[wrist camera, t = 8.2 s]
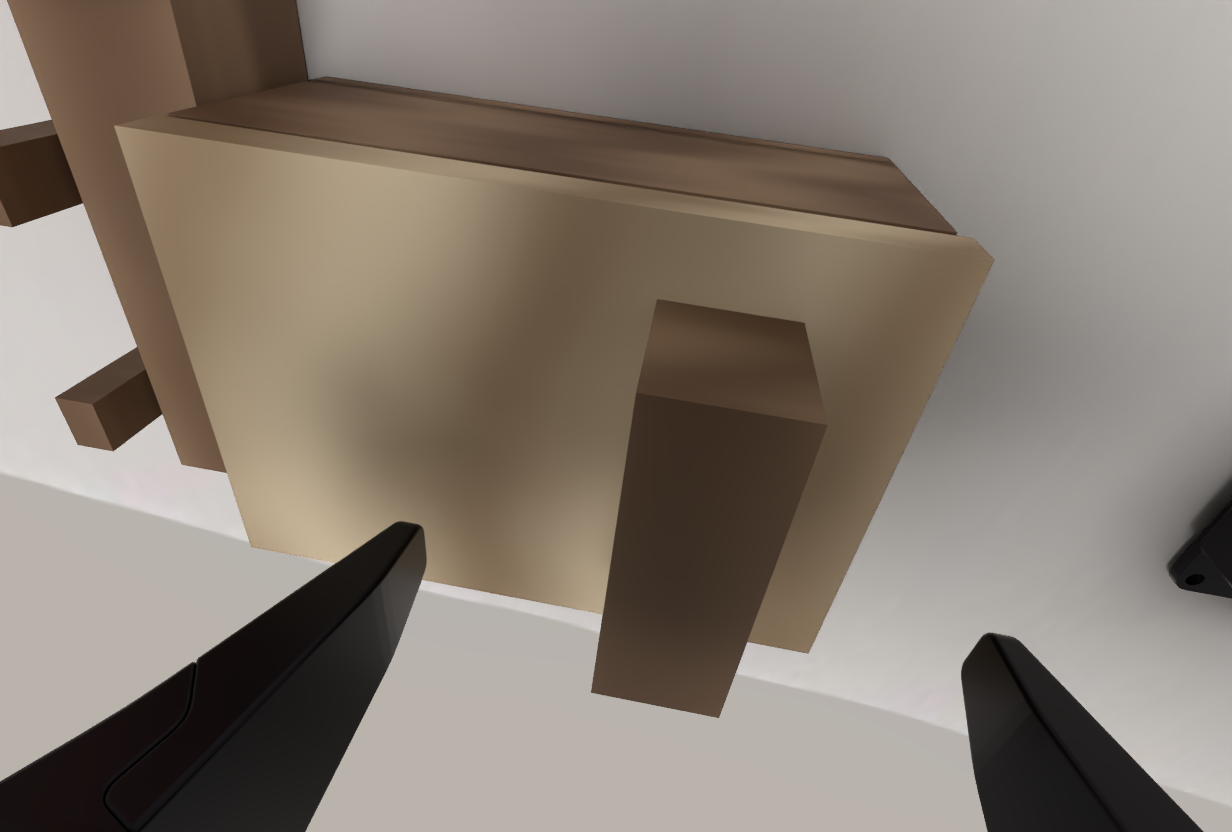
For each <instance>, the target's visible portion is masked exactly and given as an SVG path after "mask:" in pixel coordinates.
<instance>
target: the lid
mask: <svg viewBox="0 0 1232 832" xmlns="http://www.w3.org/2000/svg"><path fill="white" fill-rule="evenodd" d="M114 127H115V130H116V133H117V136H118V139H119V142H120V145H121V149H122V152H123V155H124V158H125V161H126V164H127V167H128V170H129V173H130V176H131V179H132V182H133V185H134V188H135V192H136V195H137V198H138V201H139V204H140V207H141V210H142V213H143V216H144V219H145V222H146V225H147V228H148V231H149V235H150V238H151V241H152V244H153V247H154V250H155V253H156V256H157V259H158V262H159V265H160V268H161V271H162V275H163V278H164V281H165V284H166V287H167V290H168V293H169V296H170V299H171V302H172V305H173V308H174V311H175V314H176V318H177V321H178V324H179V327H180V330H181V333H182V336H183V339H184V342H185V345H186V348H187V351H188V354H189V357H190V361H191V364H192V367H193V370H194V373H195V376H196V379H197V382H198V385H199V388H200V391H201V394H202V397H203V400H204V404H205V407H206V410H207V413H208V416H209V419H210V422H211V425H212V428H213V431H214V434H215V437H216V440H217V443H218V447H219V450H220V453H221V456H222V459H223V462H224V465H225V468H226V471H227V474H228V477H229V480H230V483H231V486H232V490H233V493H234V496H235V499H236V502H237V505H238V508H239V511H240V514H241V517H242V520H243V523H244V526H245V530H246V533H247V536H248V539H249V542H250V545H251V547H254V548H259V549H264V550H270V551H275V552H280V553H285V554H290V555H296V556H301V557H306V558H311V559H316V560H322V561H327V562H332V563H337V562H338V561H340V560H341V559H343V558H344V557H345V556H347V555H348V554H350V553H351V552H353V551H354V550H356V549H357V548H359V547H360V546H361V545H363V544H364V543H366V542H367V541H369V540H370V539H372V538H373V537H374V536H376V535H377V534H379V533H380V532H382V531H383V530H385V529H386V528H388V527H389V526H390V525H392V524H393V523H395V522H398V521H404V522H409V523H415V524H419V525H421V526H422V527H423V529H424V534H425V545H426V555H427V564H426V569H425V573H424V575H423V578H422V580H426V581H431V582H437V583H442V584H447V585H452V586H458V587H463V588H468V589H473V590H479V591H484V592H489V593H494V594H499V595H505V596H510V597H515V598H520V599H526V600H531V601H536V602H541V603H546V604H552V605H557V606H562V607H567V608H573V609H578V610H583V611H588V612H594V613H599V614H603V616H602V623H601V630H600V637H599V643H598V650H597V657H596V663H595V670H594V677H593V683H592V690H591V692H592V693H596V694H601V695H606V696H611V697H616V698H621V699H626V700H631V701H636V702H641V703H647V704H651V705H656V706H661V707H666V708H671V709H677V710H682V711H687V712H692V713H697V714H702V715H707V716H712V717H717V718H719V716H720V714H721V711H722V708H723V706H724V703H725V700H726V697H727V695H728V692H729V689H730V686H731V684H732V681H733V678H734V676H735V673H736V671H737V668H738V665H739V663H740V660H741V657H742V655H743V652H744V649H745V646H746V644H747V642H750V643H756V644H761V645H766V646H771V647H777V648H782V649H787V650H792V651H797V652H803V653H809V651H810V649H811V647H812V645H813V643H814V641H815V638H816V636H817V634H818V632H819V630H820V628H821V626H822V624H823V621H824V619H825V617H826V615H827V613H828V611H829V609H830V607H831V605H832V602H833V600H834V598H835V596H836V594H837V592H838V590H839V588H840V586H841V583H842V581H843V579H844V577H845V575H846V573H847V571H848V569H849V566H850V564H851V562H852V560H853V558H854V556H855V554H856V552H857V550H858V547H859V545H860V543H861V541H862V539H863V537H864V535H865V533H866V530H867V528H868V526H869V524H870V522H871V520H872V518H873V516H874V514H875V511H876V509H877V507H878V505H879V503H880V501H881V499H882V497H883V495H884V492H885V490H886V488H887V486H888V484H889V482H890V480H891V478H892V475H893V473H894V471H895V469H896V467H897V465H898V463H899V461H900V459H901V456H902V454H903V452H904V450H905V448H906V446H907V444H908V442H909V439H910V437H911V435H912V433H913V431H914V429H915V427H916V425H917V423H918V420H919V418H920V416H921V414H922V412H923V410H924V408H925V406H926V404H927V401H928V399H929V397H930V395H931V393H932V391H933V389H934V387H935V384H936V382H937V380H938V378H939V376H940V374H941V372H942V370H943V368H944V365H945V363H946V361H947V359H948V357H949V355H950V353H951V351H952V348H953V346H954V344H955V342H956V340H957V338H958V336H959V334H960V332H961V329H962V327H963V325H964V323H965V321H966V319H967V317H968V315H969V313H970V310H971V308H972V306H973V304H974V302H975V300H976V298H977V296H978V293H979V291H980V289H981V287H982V285H983V283H984V281H985V279H986V277H987V274H988V272H989V270H990V268H991V266H992V264H993V262H994V259H993V258H992V257H991V256H990V255H989V254H988V253H987V252H986V251H985V250H984V249H983V248H982V247H981V246H980V245H979V244H978V243H977V242H976V241H975V239H974V238H968V237H962V236H955V235H949V234H942V233H935V232H929V231H922V230H915V229H909V228H902V227H896V226H889V225H882V224H876V223H869V222H862V221H856V220H849V219H843V218H836V217H829V216H823V215H816V214H810V213H803V212H796V211H790V210H783V209H776V208H770V207H763V206H757V205H750V204H743V203H737V202H730V201H724V200H717V199H710V198H704V197H697V196H690V195H684V194H677V193H671V192H664V191H657V190H651V189H644V188H638V187H631V186H624V185H618V184H611V183H604V182H598V181H591V180H585V179H578V178H571V177H565V176H558V175H552V174H545V173H538V172H532V171H525V170H518V169H512V168H505V167H499V166H492V165H485V164H479V163H472V162H465V161H459V160H452V159H446V158H439V157H432V156H426V155H419V154H413V153H406V152H399V151H393V150H386V149H379V148H373V147H366V146H360V145H353V144H346V143H340V142H333V141H327V140H320V139H313V138H307V137H300V136H293V135H287V134H280V133H274V132H267V131H260V130H254V129H247V128H241V127H234V126H227V125H221V124H214V123H207V122H201V121H194V120H188V119H181V118H174V117H168V116H161V115H157V116H153V117H149V118H144V119H140V120H136V121H131V122H127V123H123V124H118V125H114Z"/></svg>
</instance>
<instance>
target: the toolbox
mask: <svg viewBox="0 0 1232 832" xmlns="http://www.w3.org/2000/svg"><path fill="white" fill-rule="evenodd" d="M7 2H8V4H9V7H10V9H11V12H12V15H13V17H14V20H15V23H16V25H17V28H18V31H19V33H20V36H21V39H22V41H23V44H24V47H25V49H26V52H27V55H28V57H29V60H30V63H31V65H32V68H33V71H34V73H35V76H36V79H37V81H38V84H39V87H40V89H41V92H42V95H43V97H44V100H45V103H46V105H47V108H48V111H49V113H50V116H51V118H52V120H48V121H43V122H39V123H34V124H29V125H24V126H19V127H14V128H9V129H4V130H0V225H2V226H8V227H14V226H17V225H20V224H23V223H26V222H29V221H32V220H35V219H38V218H41V217H44V216H47V215H50V214H53V213H56V212H59V211H61V210H64V209H67V208H70V207H73V206H76V205H79V204H82V203H83V204H84V206H85V209H86V212H87V214H88V217H89V220H90V222H91V225H92V228H93V230H94V233H95V235H96V238H97V241H98V243H99V246H100V249H101V251H102V254H103V257H104V259H105V262H106V265H107V267H108V270H109V273H110V275H111V278H112V281H113V283H114V286H115V289H116V291H117V294H118V297H119V299H120V302H121V305H122V307H123V310H124V313H125V315H126V318H127V321H128V323H129V326H130V329H131V331H132V334H133V337H134V339H135V342H136V344H137V347H136V348H135V349H133V350H132V351H130V352H128V353H127V354H125V355H123V356H122V357H120V358H119V359H117V360H115V361H114V362H112V363H110V364H109V365H107V366H106V367H104V368H102V369H101V370H99V371H97V372H96V373H94V374H93V375H91V376H89V377H88V378H86V379H84V380H83V381H81V382H80V383H78V384H76V385H75V386H73V387H71V388H70V389H68V390H67V391H65V392H63V393H62V394H60V395H58V396H57V397H55V399H56V401H57V403H58V405H59V407H60V409H61V411H62V413H63V415H64V417H65V419H66V421H67V424H68V426H69V428H70V430H71V432H72V434H73V436H74V438H75V440H76V442H77V444H78V445H82V446H88V447H93V448H98V449H104V450H109V451H114V450H116V449H117V448H118V447H120V446H121V445H122V444H124V443H125V442H126V441H127V440H129V439H130V438H131V437H133V436H134V435H135V434H137V433H138V432H139V431H141V430H142V429H143V428H145V427H146V426H147V425H148V424H150V423H151V422H152V421H154V420H155V419H156V418H158V417H159V416H160V415H162V414H163V416H164V419H165V422H166V424H167V427H168V430H169V432H170V435H171V438H172V440H173V443H174V446H175V448H176V451H177V454H178V456H179V459H180V461H181V464H182V465H187V466H192V467H198V468H203V469H208V470H214V471H219V472H225V473H227V471H226V468H225V465H224V462H223V459H222V456H221V453H220V450H219V447H218V443H217V440H216V437H215V434H214V431H213V428H212V425H211V422H210V419H209V416H208V413H207V410H206V407H205V404H204V400H203V397H202V394H201V391H200V388H199V385H198V382H197V379H196V376H195V373H194V370H193V367H192V364H191V361H190V357H189V354H188V351H187V348H186V345H185V342H184V339H183V336H182V333H181V330H180V327H179V324H178V321H177V318H176V314H175V311H174V308H173V305H172V302H171V299H170V296H169V293H168V290H167V287H166V284H165V281H164V278H163V275H162V271H161V268H160V265H159V262H158V259H157V256H156V253H155V250H154V247H153V244H152V241H151V238H150V235H149V231H148V228H147V225H146V222H145V219H144V216H143V213H142V210H141V207H140V204H139V201H138V198H137V195H136V192H135V188H134V185H133V182H132V179H131V176H130V173H129V170H128V167H127V164H126V161H125V158H124V155H123V152H122V149H121V145H120V142H119V139H118V136H117V133H116V130H115V127H114V125H118V124H123V123H127V122H131V121H136V120H140V119H144V118H149V117H153V116H157V115H161V116H168V117H174V118H181V119H188V120H194V121H201V122H207V123H214V124H221V125H227V126H234V127H241V128H247V129H254V130H260V131H267V132H274V133H280V134H287V135H293V136H300V137H307V138H313V139H320V140H327V141H333V142H340V143H346V144H353V145H360V146H366V147H373V148H379V149H386V150H393V151H399V152H406V153H413V154H419V155H426V156H432V157H439V158H446V159H452V160H459V161H465V162H472V163H479V164H485V165H492V166H499V167H505V168H512V169H518V170H525V171H532V172H538V173H545V174H552V175H558V176H565V177H571V178H578V179H585V180H591V181H598V182H604V183H611V184H618V185H624V186H631V187H638V188H644V189H651V190H657V191H664V192H671V193H677V194H684V195H690V196H697V197H704V198H710V199H717V200H724V201H730V202H737V203H743V204H750V205H757V206H763V207H770V208H776V209H783V210H790V211H796V212H803V213H810V214H816V215H823V216H829V217H836V218H843V219H849V220H856V221H862V222H869V223H876V224H882V225H889V226H896V227H902V228H909V229H915V230H922V231H929V232H935V233H942V234H949V235H955V236H956V234H957V232H956V230H955V229H954V228H953V227H952V226H951V225H950V224H949V223H948V222H947V221H946V220H945V219H944V217H943V216H942V215H941V214H940V213H939V212H938V211H937V210H936V209H935V208H934V207H933V206H932V204H931V203H930V202H929V201H928V200H927V199H926V198H925V197H924V196H923V195H922V194H921V193H920V191H919V190H918V189H917V188H916V187H915V186H914V185H913V184H912V183H911V182H910V181H909V180H908V178H907V177H906V176H905V175H904V174H903V173H902V172H901V171H900V170H899V169H898V168H897V167H896V165H895V164H894V163H893V162H892V161H891V160H890V159H889V158H884V157H877V156H871V155H864V154H857V153H850V152H843V151H836V150H829V149H822V148H815V147H808V146H802V145H795V144H788V143H781V142H774V141H767V140H760V139H753V138H746V137H740V136H733V135H726V134H719V133H712V132H705V131H698V130H691V129H684V128H677V127H671V126H664V125H657V124H650V123H643V122H636V121H629V120H622V119H615V118H609V117H602V116H595V115H588V114H581V113H574V112H567V111H560V110H553V109H546V108H540V107H533V106H526V105H519V104H512V103H505V102H498V101H491V100H484V99H478V98H471V97H464V96H457V95H450V94H443V93H436V92H429V91H422V90H415V89H409V88H402V87H395V86H388V85H381V84H374V83H367V82H360V81H353V80H347V79H340V78H333V77H322V78H317V79H313V80H309V81H308V78H307V72H306V65H305V59H304V52H303V46H302V40H301V33H300V27H299V20H298V14H297V7H296V1H295V0H7Z"/></svg>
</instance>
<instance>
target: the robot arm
mask: <svg viewBox="0 0 1232 832" xmlns="http://www.w3.org/2000/svg"><path fill="white" fill-rule="evenodd" d="M426 564H427V555H426V545H425V534H424V529H423V527H422V526H421V525H419V524H415V523H409V522H404V521H398V522H395V523H393V524H392V525H390V526H389V527H388V528H386V529H385V530H383V531H382V532H380V533H379V534H377V535H376V536H374V537H373V538H372V539H370V540H369V541H367V542H366V543H364V544H363V545H361V546H360V547H359V548H357V549H356V550H354V551H353V552H351V553H350V554H348V555H347V556H345V557H344V558H343V559H341V560H340V561H338V562H337V563H335V564H334V565H332V566H331V567H330V568H328V569H327V570H325V571H324V572H322V573H321V574H319V575H318V576H316V577H315V578H314V579H312V580H311V581H309V582H308V583H306V584H305V585H303V586H302V587H301V588H299V589H298V590H296V591H295V592H294V593H292V594H290V595H289V596H287V597H286V598H285V599H283V600H282V601H280V602H279V603H277V604H276V605H274V606H273V607H272V608H270V609H269V610H267V611H266V612H264V613H263V614H261V615H260V616H258V617H257V618H256V619H254V620H253V621H252V622H250V623H248V624H247V625H245V626H244V627H243V628H241V629H240V630H238V631H237V632H235V633H234V634H232V635H231V636H230V637H228V638H227V639H225V640H224V641H222V642H221V643H219V644H218V645H216V646H215V647H214V648H212V649H211V650H209V651H208V652H206V653H205V654H203V655H202V656H201V657H199V658H198V659H197V662H196V663H195V662H192V663H190V664H189V665H187V666H186V667H184V668H183V669H181V670H180V671H178V672H177V673H176V674H174V675H173V676H171V677H170V678H168V679H167V680H165V681H164V682H162V683H161V684H159V685H158V686H156V687H155V688H153V689H152V690H150V691H149V692H147V693H146V694H144V695H143V696H141V697H140V698H138V699H137V700H135V701H133V702H132V703H130V704H129V705H127V706H126V707H124V708H123V709H121V710H120V711H118V712H116V713H114V714H113V715H111V716H109V717H108V718H106V719H105V720H103V721H101V722H100V723H98V724H96V725H95V726H93V727H92V728H90V729H88V730H87V731H85V732H83V733H82V734H80V735H78V736H77V737H75V738H74V739H71V740H70V741H68V742H66V743H65V744H63V745H61V746H60V747H58V748H56V749H55V750H53V751H51V752H49V753H48V754H46V755H44V756H43V757H41V758H39V759H38V760H36V761H34V762H33V763H31V764H29V765H27V766H26V767H24V768H22V769H21V770H19V771H17V772H16V773H14V774H12V775H10V776H9V777H7V778H5V779H4V780H2V781H0V832H305V831H306V829H307V827H308V825H309V823H310V821H311V819H312V817H313V815H314V813H315V811H316V809H317V807H318V805H319V803H320V801H321V799H322V797H323V795H324V793H325V791H326V790H327V787H328V785H329V784H330V782H331V780H332V778H333V776H334V774H335V771H336V769H337V768H338V766H339V764H340V762H341V759H342V758H343V756H344V754H345V752H346V750H347V747H348V746H349V744H350V742H351V740H352V738H353V736H354V734H355V732H356V730H357V728H358V726H359V724H360V722H361V720H362V718H363V716H364V714H365V712H366V710H367V708H368V706H369V704H370V702H371V700H372V698H373V696H374V694H375V692H376V690H377V688H378V686H379V684H380V682H381V680H382V679H383V677H384V675H385V672H386V671H387V668H388V666H389V664H390V662H391V660H392V658H393V655H394V653H395V650H396V648H397V645H398V642H399V640H400V637H401V635H402V632H403V629H404V626H405V624H406V621H407V618H408V616H409V613H410V610H411V608H412V605H413V602H414V599H415V597H416V594H417V592H418V589H419V586H420V583H421V581H422V578H423V575H424V573H425V569H426ZM1169 575H1170V577H1171V578H1172V579H1173V581H1174V582H1175V584H1176V585H1177V586H1178V587H1179V588H1181V589H1184V590H1188V591H1194V592H1199V593H1205V594H1211V595H1216V596H1222V597H1227V598H1232V501H1231V502H1230V503H1229V504H1228V505H1227V506H1226V507H1225V509H1224V510H1223V511H1222V512H1221V513H1220V514H1219V515H1218V516H1217V517H1216V519H1215V520H1214V521H1213V522H1212V523H1211V524H1210V525H1209V526H1208V527H1207V528H1206V530H1205V531H1204V532H1203V533H1202V534H1201V535H1200V536H1199V537H1198V538H1197V539H1196V541H1195V542H1194V543H1193V544H1192V545H1191V546H1190V547H1189V548H1188V549H1187V550H1186V552H1185V553H1184V554H1183V555H1182V556H1181V557H1180V558H1179V559H1178V560H1177V562H1176V563H1175V564H1174V565H1173V566H1172V567H1171V569H1170V570H1169ZM961 680H962V688H963V695H964V703H965V711H966V718H967V726H968V733H969V741H970V748H971V755H972V762H973V769H974V775H975V780H976V784H977V789H978V794H979V798H980V802H981V806H982V810H983V814H984V818H985V822H986V827H987V830H988V832H1203V831H1202V830H1201V829H1200V828H1199V827H1198V826H1197V824H1196V823H1195V822H1194V821H1193V820H1192V819H1191V818H1190V817H1189V816H1188V815H1187V814H1186V813H1185V812H1184V811H1183V810H1182V809H1181V808H1180V807H1179V806H1178V805H1177V804H1176V803H1175V802H1174V801H1173V800H1172V799H1171V798H1170V797H1169V796H1168V794H1167V793H1166V792H1165V791H1164V790H1163V789H1162V788H1161V787H1160V786H1159V785H1158V784H1157V783H1156V782H1155V781H1154V780H1153V779H1152V778H1151V777H1150V776H1149V775H1148V774H1147V773H1146V772H1145V771H1144V769H1143V768H1142V767H1141V766H1140V765H1139V764H1138V763H1137V762H1136V761H1135V760H1134V759H1133V758H1132V757H1131V756H1130V755H1129V754H1128V753H1127V752H1126V751H1125V750H1124V749H1123V748H1122V747H1121V746H1120V745H1119V744H1118V742H1117V741H1116V740H1115V739H1114V738H1113V737H1112V736H1111V735H1110V734H1109V733H1108V732H1107V731H1106V730H1105V729H1104V728H1103V727H1102V726H1101V725H1100V724H1099V723H1098V722H1097V721H1096V720H1095V719H1094V718H1093V717H1092V716H1091V714H1090V713H1089V712H1088V711H1087V710H1086V709H1085V708H1084V707H1083V706H1082V705H1081V704H1080V703H1079V702H1078V701H1077V700H1076V699H1075V698H1074V697H1073V696H1072V695H1071V694H1070V693H1069V692H1068V691H1067V690H1066V689H1065V687H1064V686H1063V685H1062V684H1061V683H1060V682H1059V681H1058V680H1057V679H1056V678H1055V677H1054V676H1053V675H1052V674H1051V673H1050V672H1049V671H1048V670H1047V669H1046V668H1045V667H1044V666H1043V665H1042V664H1041V663H1040V662H1039V661H1038V659H1037V658H1036V657H1035V656H1034V655H1033V654H1032V653H1031V652H1030V651H1029V650H1028V649H1027V648H1026V647H1025V646H1024V645H1023V644H1022V643H1021V642H1020V641H1019V640H1017V639H1016V638H1014V637H1011V636H1006V635H1001V634H996V633H987V634H984V635H983V636H982V637H981V638H980V640H979V641H978V643H977V644H976V645H975V647H974V648H973V650H972V651H971V652H970V654H969V655H968V657H967V658H966V659H965V661H964V663H963V666H962V670H961Z"/></svg>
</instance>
